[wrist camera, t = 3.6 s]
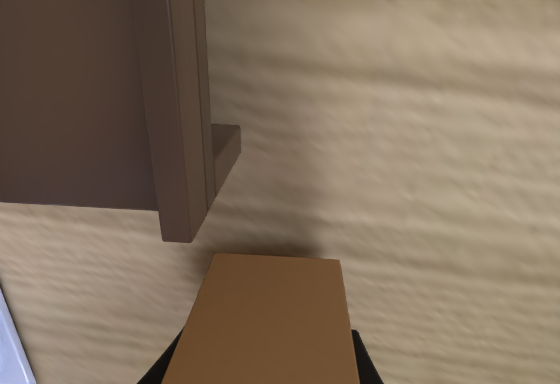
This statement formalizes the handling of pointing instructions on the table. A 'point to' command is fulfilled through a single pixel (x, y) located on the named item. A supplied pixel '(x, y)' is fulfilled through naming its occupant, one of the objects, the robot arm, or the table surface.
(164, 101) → the rack
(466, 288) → the table surface
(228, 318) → the parcel
